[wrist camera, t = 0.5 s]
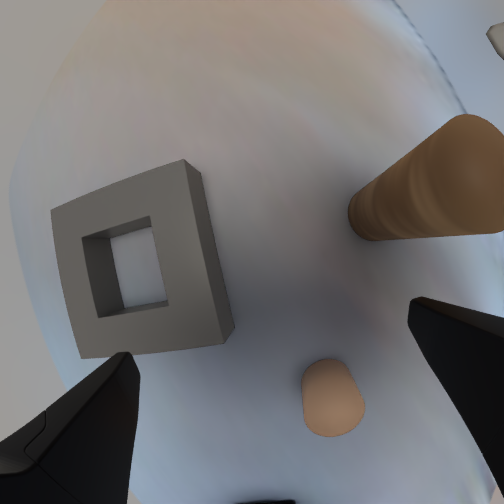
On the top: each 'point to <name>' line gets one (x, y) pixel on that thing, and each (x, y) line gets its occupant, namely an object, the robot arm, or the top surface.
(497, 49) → the flask
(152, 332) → the grey square socket block
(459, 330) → the robot arm
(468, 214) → the tall pin
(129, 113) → the top surface
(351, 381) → the short pin
